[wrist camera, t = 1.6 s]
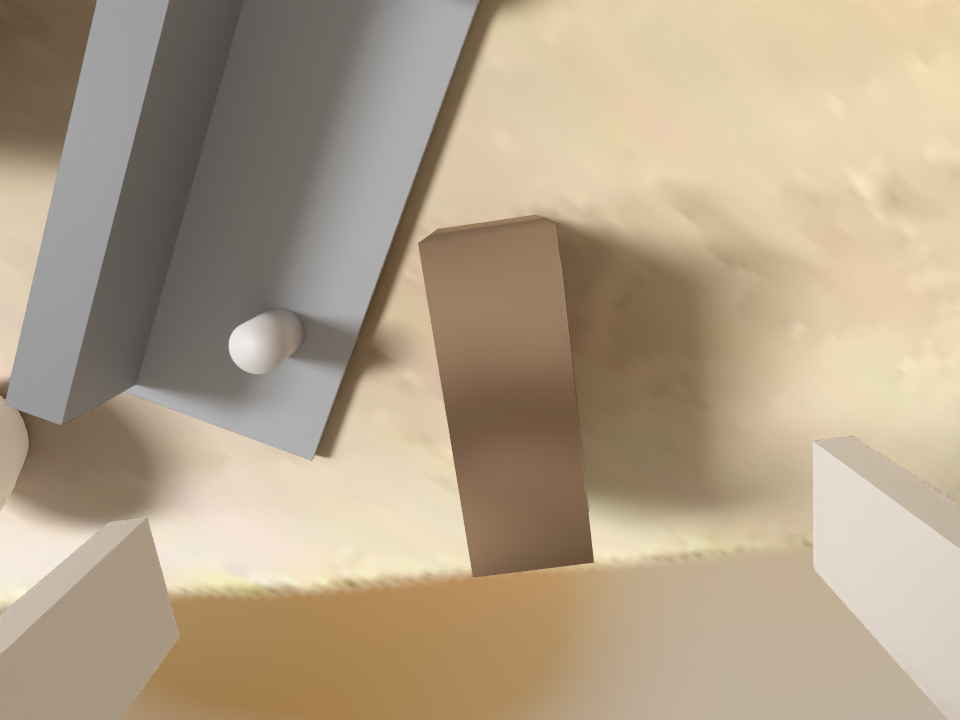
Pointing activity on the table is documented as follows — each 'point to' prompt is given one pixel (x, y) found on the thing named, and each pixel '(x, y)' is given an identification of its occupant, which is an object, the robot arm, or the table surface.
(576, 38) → the table surface
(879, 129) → the table surface
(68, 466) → the table surface
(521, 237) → the picture block
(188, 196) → the ledge
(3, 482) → the plain white apple
